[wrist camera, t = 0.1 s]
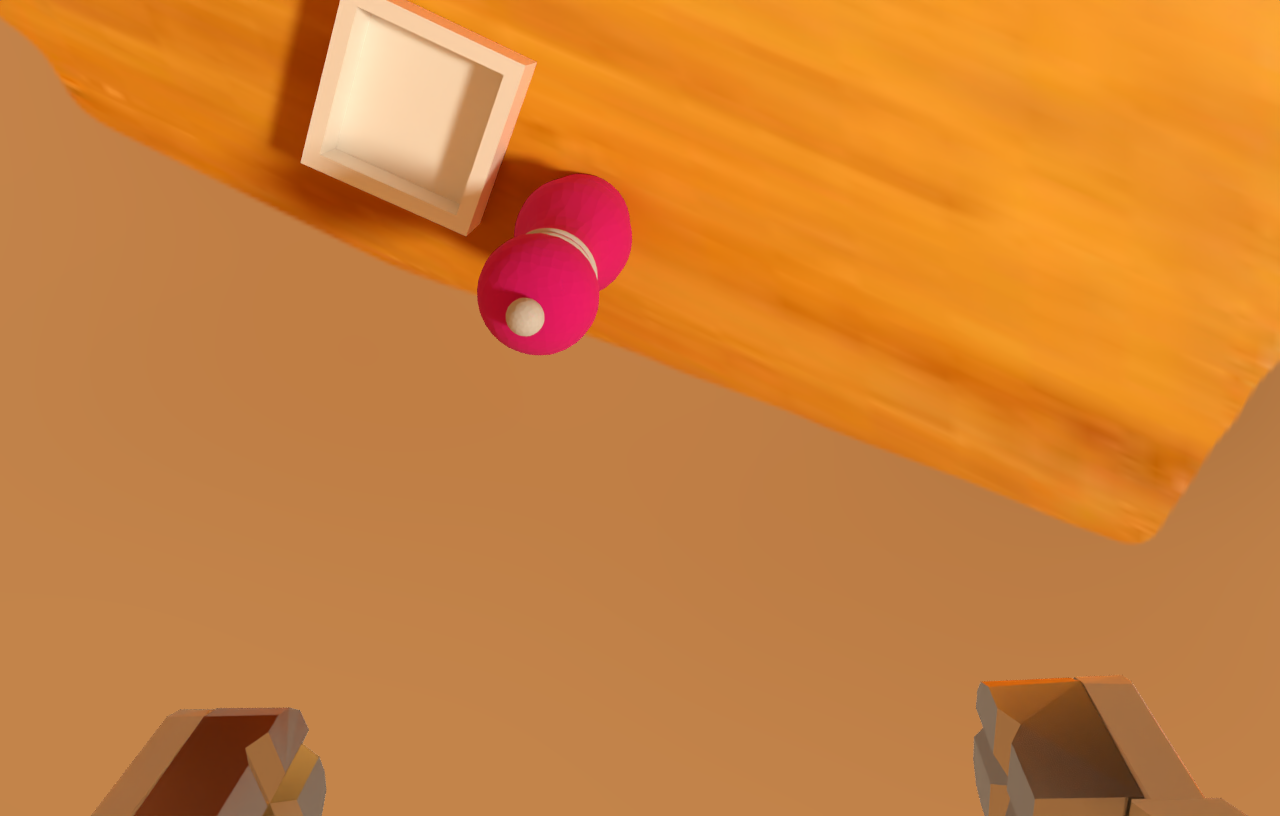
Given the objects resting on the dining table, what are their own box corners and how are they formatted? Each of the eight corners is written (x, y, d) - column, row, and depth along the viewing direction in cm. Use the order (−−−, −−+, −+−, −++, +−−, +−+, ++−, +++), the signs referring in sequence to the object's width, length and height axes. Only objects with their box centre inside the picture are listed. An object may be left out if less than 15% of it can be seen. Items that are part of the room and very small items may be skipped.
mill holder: (367, -18, 51) (344, -20, 48) (537, 62, 52) (525, 65, 49) (323, 154, 55) (300, 162, 52) (480, 223, 57) (466, 236, 53)
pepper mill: (527, 267, 58) (443, 386, 40) (531, 159, 54) (441, 236, 36) (632, 279, 57) (595, 404, 39) (642, 171, 54) (606, 253, 36)
